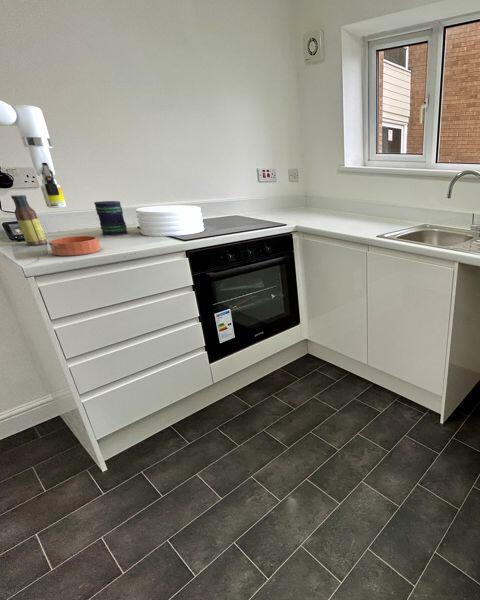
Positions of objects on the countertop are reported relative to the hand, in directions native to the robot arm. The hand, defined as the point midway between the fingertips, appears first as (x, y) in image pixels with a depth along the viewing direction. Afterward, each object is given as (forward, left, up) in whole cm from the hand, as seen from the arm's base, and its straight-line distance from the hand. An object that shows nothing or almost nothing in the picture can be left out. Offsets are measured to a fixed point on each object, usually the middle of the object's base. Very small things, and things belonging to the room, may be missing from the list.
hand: (53, 194), depth 134 cm
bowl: (+1, -9, -21) cm, 23 cm away
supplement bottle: (0, 0, -5) cm, 5 cm away
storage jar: (+19, +25, -21) cm, 38 cm away
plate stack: (+42, +17, -21) cm, 50 cm away
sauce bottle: (-9, +17, -21) cm, 28 cm away
